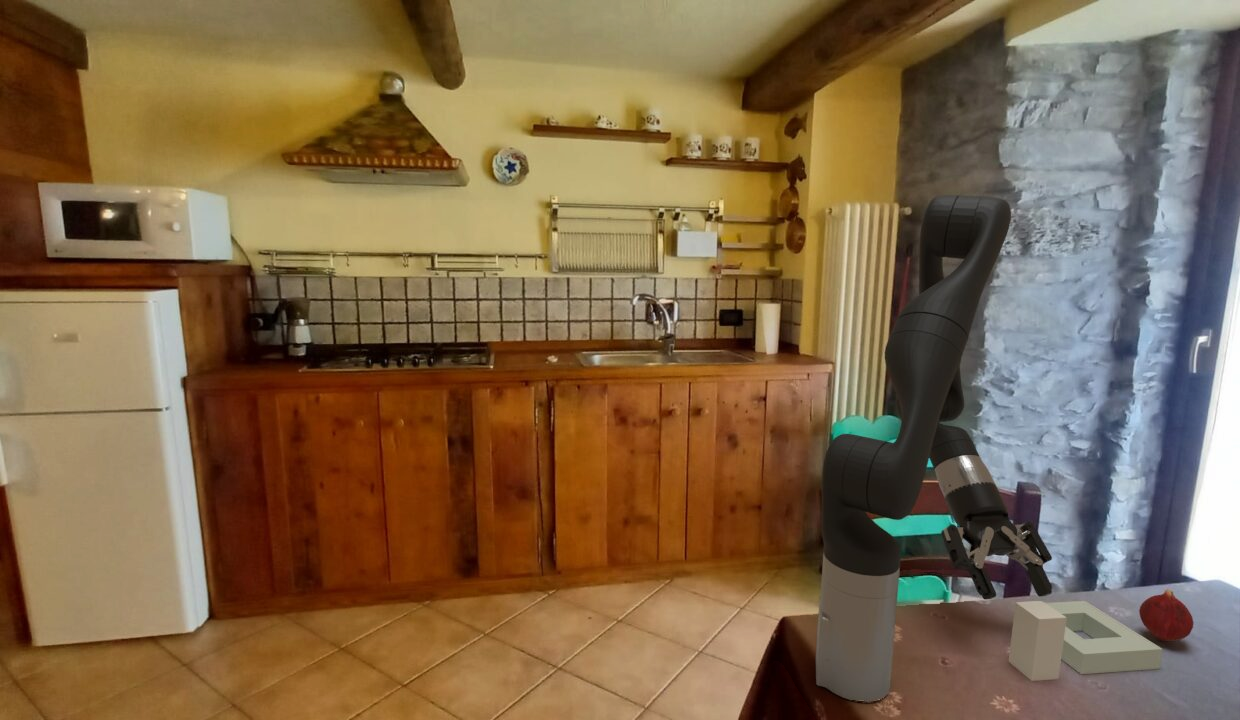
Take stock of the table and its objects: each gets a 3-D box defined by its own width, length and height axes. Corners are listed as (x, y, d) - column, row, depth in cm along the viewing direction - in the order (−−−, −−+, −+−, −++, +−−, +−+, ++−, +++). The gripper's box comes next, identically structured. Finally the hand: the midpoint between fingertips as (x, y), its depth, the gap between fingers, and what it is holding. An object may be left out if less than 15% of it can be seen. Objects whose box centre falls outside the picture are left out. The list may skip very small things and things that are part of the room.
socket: (1081, 674, 79) (1083, 654, 78) (1013, 622, 91) (1014, 604, 90) (1159, 668, 80) (1162, 648, 80) (1082, 618, 92) (1084, 600, 91)
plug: (1031, 681, 77) (1039, 619, 76) (1008, 661, 81) (1015, 602, 80) (1058, 679, 78) (1066, 617, 77) (1034, 659, 82) (1041, 600, 80)
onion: (1200, 655, 83) (1208, 604, 82) (1153, 650, 84) (1161, 599, 83) (1170, 631, 89) (1178, 583, 87) (1127, 626, 90) (1134, 578, 89)
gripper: (939, 481, 88) (987, 592, 78) (1025, 478, 89) (1082, 586, 80) (915, 501, 94) (957, 606, 84) (996, 498, 95) (1046, 601, 86)
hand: (1018, 596), depth 82 cm, fingers open, 8 cm apart
